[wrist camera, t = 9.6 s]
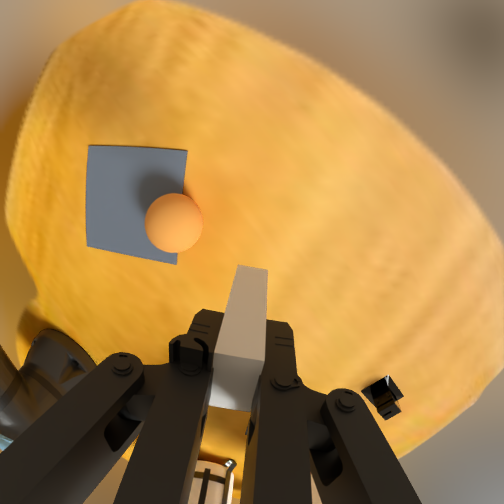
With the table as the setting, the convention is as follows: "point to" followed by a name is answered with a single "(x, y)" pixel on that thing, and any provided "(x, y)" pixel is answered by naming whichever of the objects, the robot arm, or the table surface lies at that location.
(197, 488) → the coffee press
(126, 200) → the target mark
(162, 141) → the table surface
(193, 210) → the ball
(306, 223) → the table surface
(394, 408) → the black recessed block
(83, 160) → the table surface
